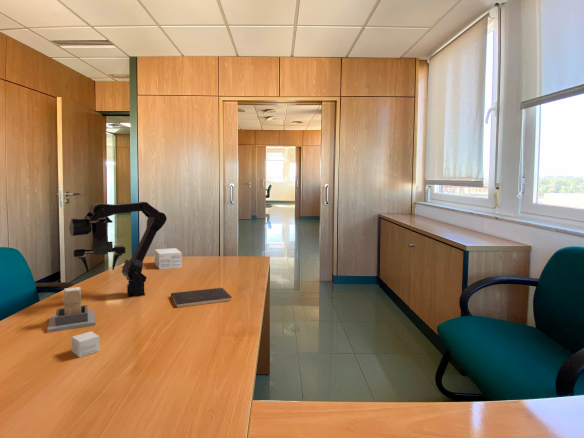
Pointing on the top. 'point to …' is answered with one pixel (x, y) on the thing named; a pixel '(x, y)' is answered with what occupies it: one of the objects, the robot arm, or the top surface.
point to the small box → (85, 344)
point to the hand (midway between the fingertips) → (100, 271)
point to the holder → (71, 320)
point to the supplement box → (168, 258)
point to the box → (72, 301)
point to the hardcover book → (200, 297)
